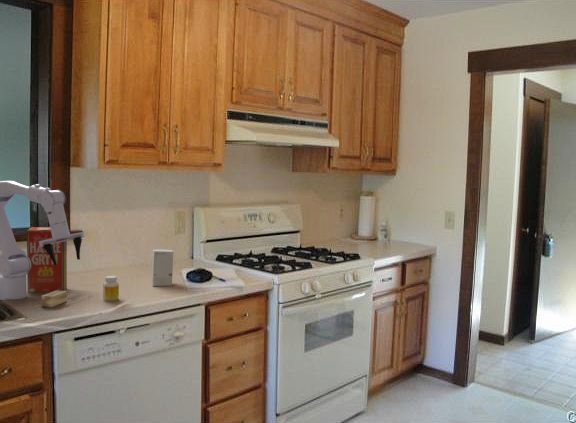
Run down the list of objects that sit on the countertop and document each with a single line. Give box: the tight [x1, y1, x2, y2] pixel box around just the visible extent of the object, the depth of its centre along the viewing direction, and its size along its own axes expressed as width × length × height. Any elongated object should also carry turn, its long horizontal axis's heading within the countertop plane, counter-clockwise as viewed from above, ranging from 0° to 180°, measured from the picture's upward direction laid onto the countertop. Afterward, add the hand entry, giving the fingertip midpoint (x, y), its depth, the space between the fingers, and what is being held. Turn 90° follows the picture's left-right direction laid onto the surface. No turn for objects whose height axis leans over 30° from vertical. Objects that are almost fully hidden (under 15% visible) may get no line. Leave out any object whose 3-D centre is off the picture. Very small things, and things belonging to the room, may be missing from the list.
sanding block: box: [41, 290, 67, 309], centre depth 187 cm, size 4×8×4 cm, turn 168°
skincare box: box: [151, 248, 174, 287], centre depth 225 cm, size 8×6×15 cm
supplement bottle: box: [102, 275, 120, 303], centre depth 195 cm, size 5×5×10 cm
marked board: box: [31, 292, 94, 311], centre depth 192 cm, size 11×20×1 cm, turn 168°
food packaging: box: [26, 226, 68, 293], centre depth 207 cm, size 13×9×25 cm
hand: (67, 262), depth 185 cm, fingers open, 7 cm apart
